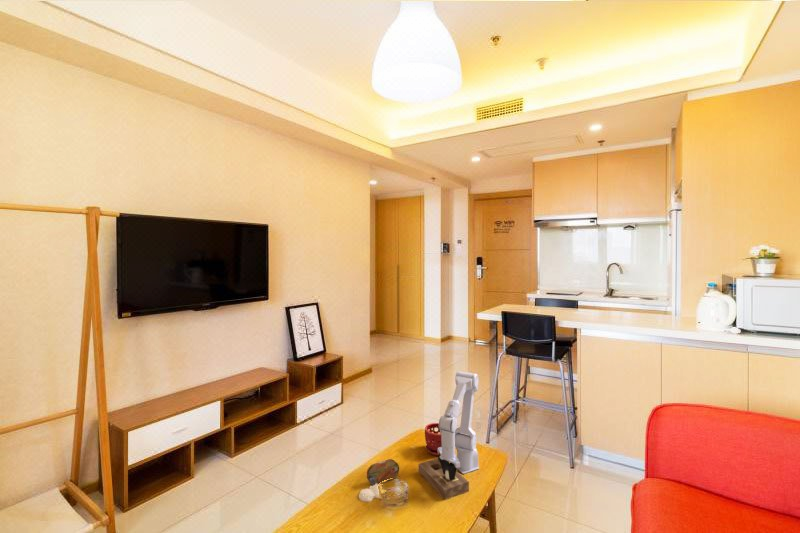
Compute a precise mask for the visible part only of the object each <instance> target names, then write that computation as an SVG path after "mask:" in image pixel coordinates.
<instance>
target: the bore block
mask: <svg viewBox="0 0 800 533" xmlns="http://www.w3.org/2000/svg"><path fill="white" fill-rule="evenodd" d="M418 473H419V474H420V476H421V477H422V478H423V479H424V480H425V481H426V482H427V483H428V484H429V485H430V486H431V487H432V488H433V489H434V490H435V491H436V492H437V493H438V494H439V495H440V497H442V498H443V500H448V499H451V498H454V497H457V496H459V495H463V494H465V493H467V492H469V491H470V481H468V480H467V479H466V477H464V476H462V474H460V472H458V470H457V471H456V474H455V478H454V479H453V480H452V481H449V482H447V481H446V480H445V474H443V470H442V466H441V463H440V461H439V459H438V457H437V458H433V459H430V460H427V461H424V462H421V463H418Z"/></svg>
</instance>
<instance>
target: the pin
mask: <svg viewBox="0 0 800 533" xmlns="http://www.w3.org/2000/svg"><path fill="white" fill-rule="evenodd" d="M445 480H446V481H447V482H449V481H452V480H450V479H449V472H448V468H447V469H446V472H445Z"/></svg>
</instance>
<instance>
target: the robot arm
mask: <svg viewBox="0 0 800 533" xmlns="http://www.w3.org/2000/svg"><path fill="white" fill-rule="evenodd" d="M454 380H455V385H456V386H455V389H454V393H453V396H452V399H451V400H449V402H448V404H447V406H446V409H445V411H444V413H443V415H442V416H440V418H439V420H438V423H439V429H440V432H439V434H440V433H441V441H442V447H439V448H438V453H440V455H438V457H437V458H438V459H439V461H440V463H441V466H442V470H443V474H445V472H446V469H447V468H448V472H449V479H450V480H453V479H454V478H455V474H456V471H457V472H458V471H459V473H461V474H463V475H464V474H468V473H470V472H474V471H476V470H478V469H479V470H480V467H479V452H478V449H477V448H476V447H477V433H476V432H475V431H474V430H473V428H472V419H473V410H474V399H475V392H478V390H479V384H480V382H479V381H480V378H479V375H478V374H477V373H474V372H473V373H472V372H466V371H461V370H458V371H456V374H455V379H454ZM461 402H462V406H461ZM460 411H461V417H460V418H461V419H460V426H459V427H458V421H459V420H458V416H459V415H460Z"/></svg>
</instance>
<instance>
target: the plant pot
mask: <svg viewBox="0 0 800 533" xmlns="http://www.w3.org/2000/svg"><path fill="white" fill-rule="evenodd" d="M435 429H437V431H435ZM424 439H425V443H426V445H425V450H426V451H427V453H429V454H430V455H432V456H440V453H438V448H439V447H442V441H441V433H440V429H439V422H431V423H428V424H427V425H425V428H424Z"/></svg>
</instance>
